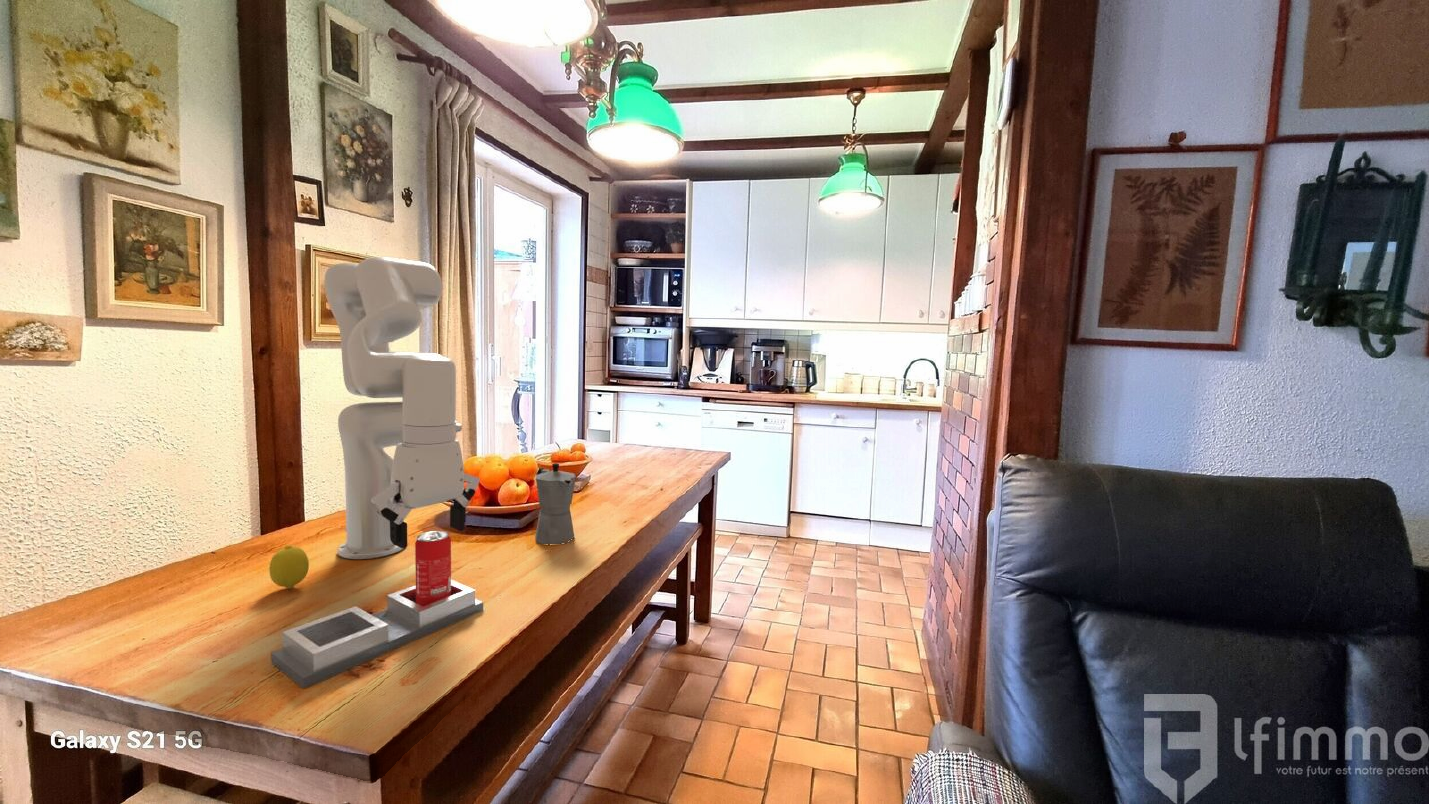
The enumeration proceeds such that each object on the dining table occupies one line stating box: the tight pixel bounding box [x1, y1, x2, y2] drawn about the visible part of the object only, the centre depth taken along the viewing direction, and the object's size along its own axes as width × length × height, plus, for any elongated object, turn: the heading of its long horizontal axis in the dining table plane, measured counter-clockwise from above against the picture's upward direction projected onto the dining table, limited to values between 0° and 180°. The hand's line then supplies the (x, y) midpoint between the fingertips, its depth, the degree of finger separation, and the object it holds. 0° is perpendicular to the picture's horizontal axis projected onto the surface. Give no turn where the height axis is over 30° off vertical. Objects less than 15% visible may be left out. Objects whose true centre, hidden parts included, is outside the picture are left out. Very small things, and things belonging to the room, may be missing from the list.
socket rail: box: [270, 579, 484, 690], centre depth 83 cm, size 10×26×4 cm, turn 148°
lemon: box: [268, 544, 310, 590], centre depth 96 cm, size 6×6×8 cm
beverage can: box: [414, 530, 452, 607], centre depth 89 cm, size 5×5×12 cm
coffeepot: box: [534, 462, 577, 546], centre depth 126 cm, size 15×9×18 cm, turn 44°
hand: (429, 536), depth 88 cm, fingers open, 9 cm apart
